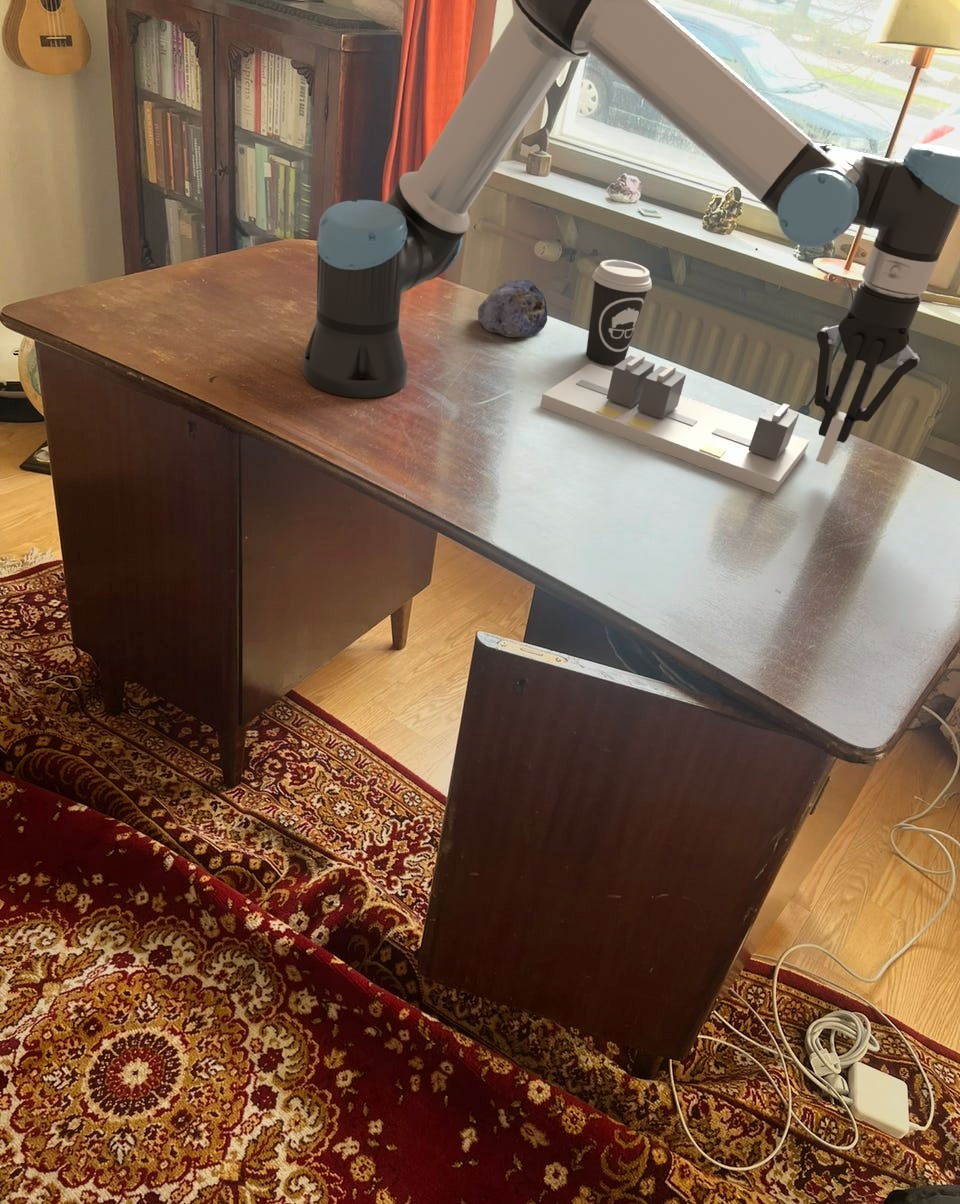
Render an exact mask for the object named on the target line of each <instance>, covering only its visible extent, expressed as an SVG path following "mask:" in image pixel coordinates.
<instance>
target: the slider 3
mask: <svg viewBox="0 0 960 1204" xmlns="http://www.w3.org/2000/svg"><path fill="white" fill-rule="evenodd" d="M789 408H790V404H787V403H782V405H781V406H780V405H777V404H774V403H771V404H770V405H769V407H767V408H766V409H765V411H764V412H763V413H762V414H761V415H760V416H759V418H758V420H757V422H758V423H757V426H756V429H755V432H754V435H753V438H752V441H751V444H750V446H749V449H748V450H749V451H752V452H754V453H757V454H760V455H763V456H765V457H768V458H771V459H774V460H776V459H777V458H778V457H779V456H780V455H781V453H782V452H783V451H784V450H785V448H786V447H787V446H788V444H789V441H790V438H791V436H792V435H793V432H794V430H795V427H796V424H797V422H798V418H799V416H800V412H797V411H794V410H792V409H789Z"/></svg>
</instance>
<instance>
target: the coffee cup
mask: <svg viewBox="0 0 960 1204" xmlns="http://www.w3.org/2000/svg"><path fill="white" fill-rule="evenodd" d="M650 275H651V274H650V270H649V269H648V268H646V267H645V266H643V265H640V264H639V263H635V262H632V261H628V260H622V259H606V260H603V261H601V262H600V264H599V265H598V267H597V268H596V269H594V272H593V273H592V275H591V276H592V279H593V281H594V284H593V291H592V292H593V293H592V300H591V301H592V302H591V309H590V318H589V326H588V335H587V342H586V352H585V357H586V358H587V359H588V360H589V361H591V362H593V363H595V364H597V365H601V366H607V367H614V366H616V365H617V364H619V363H620V362H622V361H623V360H624V359H626V358H627V354H628V351H629V348H630V345H631V342H632V338H633V336H634V332H635V329H636V326H637V323H638V320H639V317H640V314H641V311H642V308H643V305H644V302H645V299H646V296H647V294H648V291H650V290H651V289H652V287H653V285H652V284H653V283H652V278H651V277H650Z"/></svg>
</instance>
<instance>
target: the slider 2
mask: <svg viewBox="0 0 960 1204" xmlns="http://www.w3.org/2000/svg"><path fill="white" fill-rule="evenodd" d="M676 369H677V366H675V365H671V364H670V365H669V366H668V367H666V366H662V365H660V366H659V367H657V368H656V369H654V370H653V372H652V373H651V374H650V375H648V376H647V377H646V378H645V381H644V385H643V389H642V393H641V397H640V401H639V405H638V409H637V410H639V411H641V412H644V413H647V414H650V415H652V416H655V417H658V418H661V419H663V418H664V417H665V416H667V415H668V414H669V413H670V412H671V411H672V410H674V409H675V408H676V407H677V406H678V402H679V399H680V395H681V396H682V392H683V387H684V384H685V380H686V376H687V374H686V373H683V372H680V371H677V370H676Z"/></svg>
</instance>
